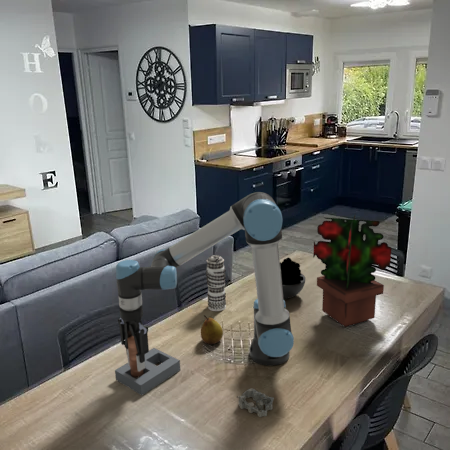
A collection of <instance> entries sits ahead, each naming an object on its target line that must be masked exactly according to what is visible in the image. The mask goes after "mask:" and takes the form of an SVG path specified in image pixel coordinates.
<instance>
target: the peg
mask: <svg viewBox="0 0 450 450" xmlns="http://www.w3.org/2000/svg"><path fill="white" fill-rule="evenodd" d="M127 340H128V350H129V360H130V370H131V376H132V377H134V378H135V379H137V378H139V377H140V376H142V375H143V374H144V370H141V371H138V370H137V359H136V354H137V349H136V344H135V340H134V336H131V337H129V338H128V339H127Z"/></svg>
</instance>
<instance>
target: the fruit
mask: <svg viewBox="0 0 450 450" xmlns="http://www.w3.org/2000/svg"><path fill="white" fill-rule="evenodd" d="M203 317H204V318H205V320H204V322H203V323H202V326H201V328H200V337H201V340H202V341H203V342H204V343H205V344H207V345H211V346H213V345H215V344H217V343H219V342H220V341H221V340H222V338H223V335H224V331H223V327H222V326H221V323H219V322H218V321H217V320H215V319H214V318H212V317H207V316H206V315H203Z"/></svg>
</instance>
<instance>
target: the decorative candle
mask: <svg viewBox="0 0 450 450" xmlns="http://www.w3.org/2000/svg"><path fill="white" fill-rule="evenodd" d="M206 262H207V263H206V270H205V277H206V286H207V287H208V288H207V306H208V307H207V308H208V310H210V311H213V312H220V311H223V310H226V308H227V299H226V294H227V293H226V289H225V285H226V281H225V280H226V279H227V278H226V271H227V270H226V267H225V265H224V264H225V263H224V262H225V259H224V258H223V257H222V256H221V255H218V254H215V255H214V254H213V255H210V256H209V257H208V258H206Z"/></svg>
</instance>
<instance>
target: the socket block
mask: <svg viewBox="0 0 450 450" xmlns="http://www.w3.org/2000/svg"><path fill="white" fill-rule="evenodd" d="M158 363H159V365H157V364H158ZM143 370H144V374H143V375H142V376H140V377H138V378H134V377H132V376H131V370H130V366H128V362H127V363H125V364H123V365H121V366H120V367H118V368H117V369H115V370H114V374H115V381H117V382H119V383H120V384H122V385H124V386H126V387H127V388H129V389H130V390H131V391H133V392H135V393H137V394H138V395H140V396H143V395H145V394H146V393H148V392H149V391H151V390H152V389H153V388H155V387H157V386H159V385H160V384H161V383H163V382H164V381H166V380H168V379H169V378H170V377H172V376H174V375H175V374H177V373H178V372H180V371H181V360H180V359H178V358H176V357H173V356H171V355H170V354H167V353H166V352H164V351H162V350H160V349H157V348H156V347H153V348H151V349H149V352H148V353H146V354H145V368H144V369H143Z"/></svg>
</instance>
